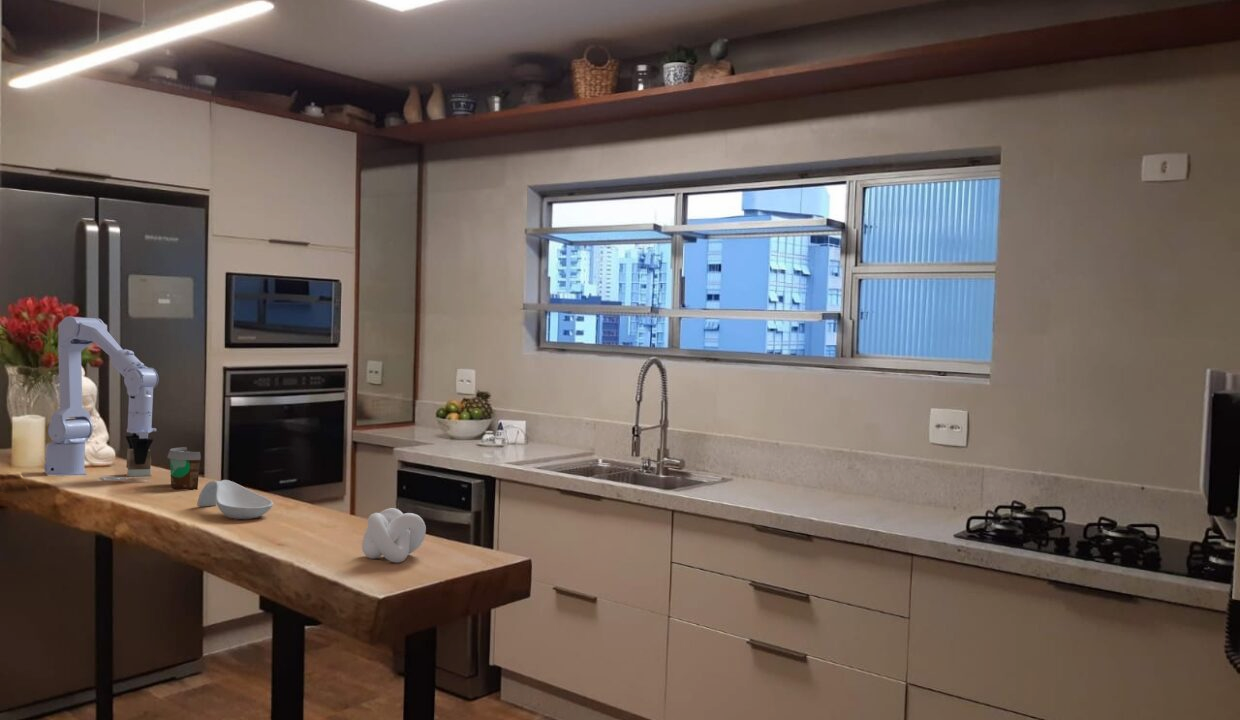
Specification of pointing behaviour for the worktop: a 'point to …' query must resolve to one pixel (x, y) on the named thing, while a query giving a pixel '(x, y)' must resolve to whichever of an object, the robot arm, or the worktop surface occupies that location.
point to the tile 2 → (136, 476)
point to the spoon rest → (234, 500)
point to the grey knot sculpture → (393, 535)
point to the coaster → (137, 480)
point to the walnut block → (131, 461)
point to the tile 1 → (112, 478)
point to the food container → (184, 468)
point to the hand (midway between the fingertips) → (138, 462)
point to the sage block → (139, 472)
